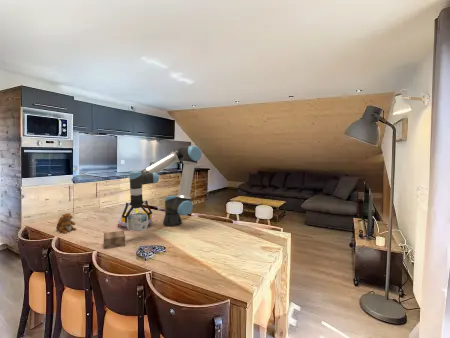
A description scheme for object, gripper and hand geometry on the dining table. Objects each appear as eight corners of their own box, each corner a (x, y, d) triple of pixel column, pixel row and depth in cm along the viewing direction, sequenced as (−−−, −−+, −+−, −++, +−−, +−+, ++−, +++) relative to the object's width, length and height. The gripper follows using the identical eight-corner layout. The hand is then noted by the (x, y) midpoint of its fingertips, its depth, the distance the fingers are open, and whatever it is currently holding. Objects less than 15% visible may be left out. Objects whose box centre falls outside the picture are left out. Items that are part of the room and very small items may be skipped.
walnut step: (124, 239, 163) (123, 230, 163) (125, 245, 152) (125, 236, 152) (104, 241, 158) (103, 232, 157) (103, 248, 147) (103, 239, 147)
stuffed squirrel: (65, 234, 171) (65, 216, 170) (51, 231, 176) (50, 214, 175) (78, 229, 181) (77, 212, 180) (64, 227, 185) (63, 210, 184)
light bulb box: (147, 228, 166) (147, 213, 165) (141, 231, 159) (141, 215, 158) (134, 227, 169) (133, 211, 168) (127, 230, 162) (127, 214, 161)
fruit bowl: (147, 230, 181) (147, 215, 180) (111, 230, 181) (110, 215, 180) (158, 220, 209) (158, 207, 208) (127, 219, 209) (126, 206, 208)
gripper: (154, 191, 170) (155, 221, 172) (116, 195, 160) (118, 226, 162) (155, 193, 164) (157, 224, 166) (116, 197, 153) (118, 230, 155)
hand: (137, 225), depth 164 cm, fingers closed on light bulb box, 12 cm apart
